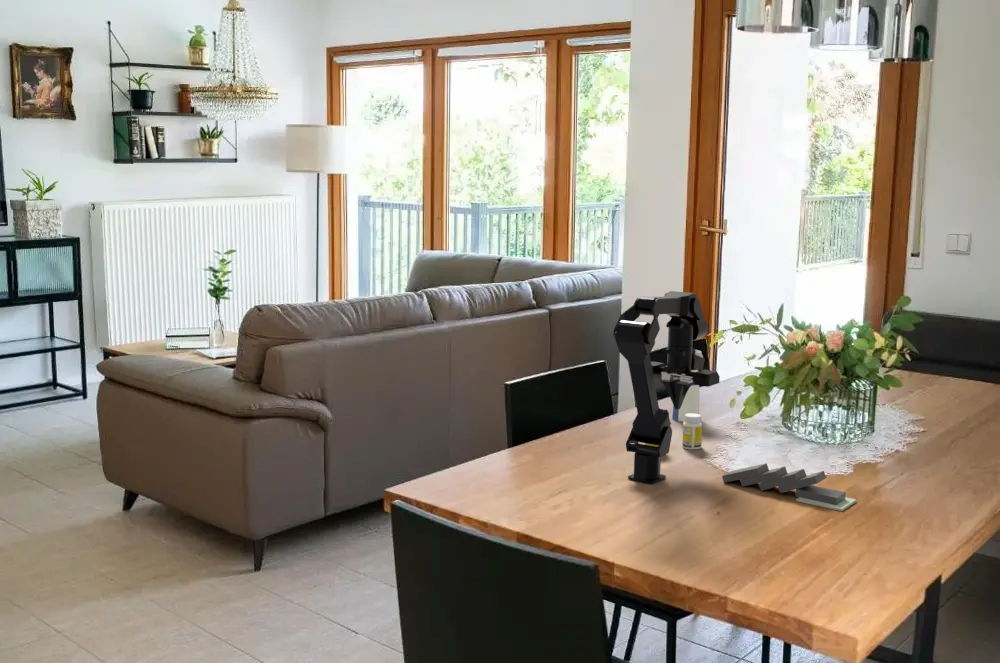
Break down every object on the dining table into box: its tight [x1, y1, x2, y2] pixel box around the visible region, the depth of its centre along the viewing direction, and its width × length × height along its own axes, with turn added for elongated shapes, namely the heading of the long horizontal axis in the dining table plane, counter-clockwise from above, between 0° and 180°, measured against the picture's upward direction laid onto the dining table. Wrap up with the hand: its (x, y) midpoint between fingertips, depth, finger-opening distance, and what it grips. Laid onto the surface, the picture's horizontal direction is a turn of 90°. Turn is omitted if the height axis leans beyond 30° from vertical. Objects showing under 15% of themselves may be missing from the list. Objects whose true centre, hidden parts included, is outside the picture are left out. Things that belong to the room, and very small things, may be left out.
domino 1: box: [721, 463, 770, 483], centre depth 234 cm, size 2×5×9 cm
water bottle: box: [671, 349, 704, 423], centre depth 290 cm, size 8×8×25 cm
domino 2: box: [739, 466, 788, 488], centre depth 231 cm, size 2×5×9 cm
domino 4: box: [777, 470, 827, 494], centre depth 226 cm, size 2×5×9 cm
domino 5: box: [795, 484, 847, 505], centre depth 223 cm, size 2×5×9 cm
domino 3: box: [758, 468, 807, 492], centre depth 228 cm, size 2×5×9 cm
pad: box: [796, 496, 857, 512], centre depth 223 cm, size 8×10×1 cm
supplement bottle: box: [682, 413, 703, 451], centre depth 262 cm, size 5×5×8 cm
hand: (677, 409), depth 248 cm, fingers closed
